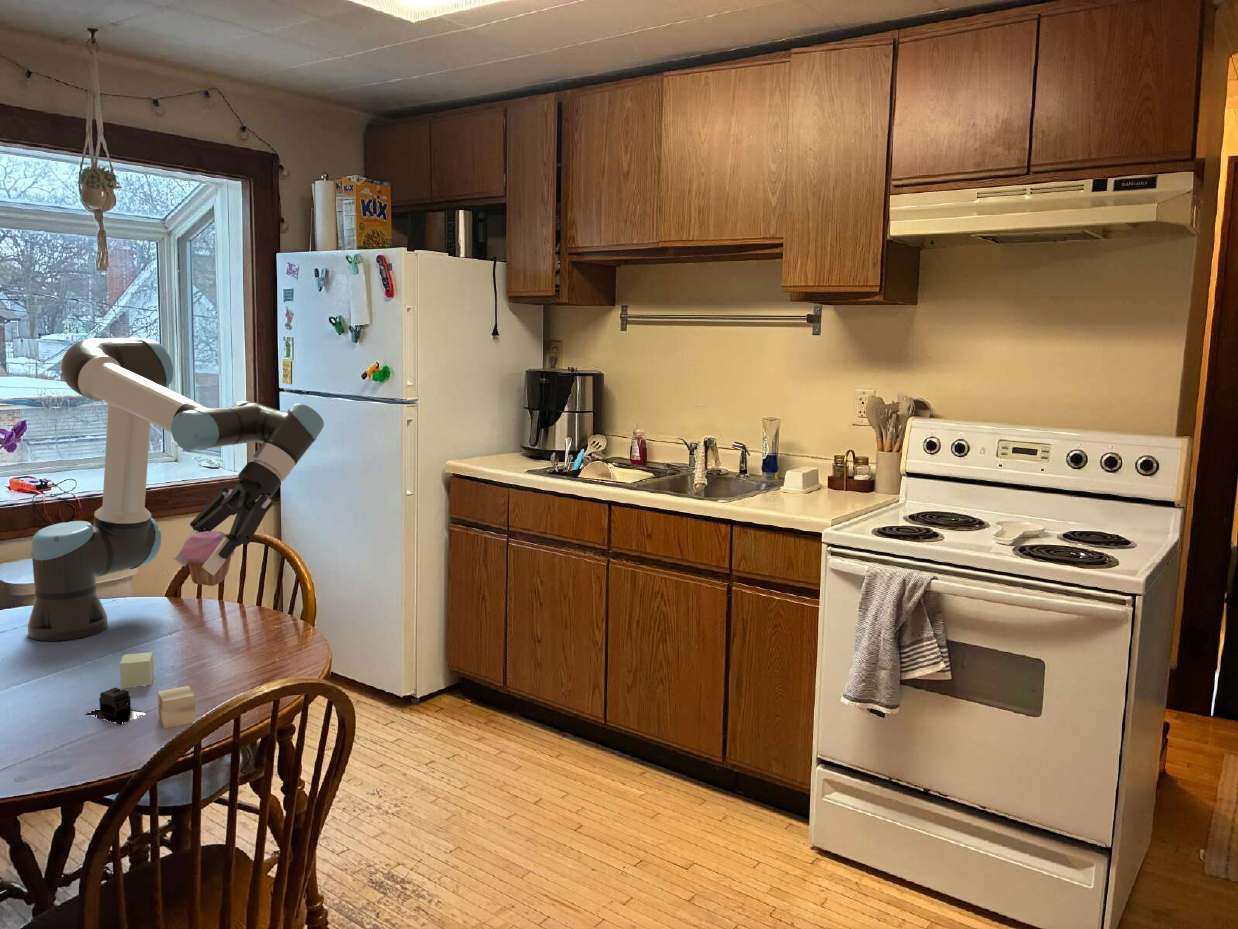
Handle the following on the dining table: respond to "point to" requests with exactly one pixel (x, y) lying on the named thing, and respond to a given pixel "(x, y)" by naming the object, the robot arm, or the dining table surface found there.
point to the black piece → (115, 707)
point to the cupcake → (204, 557)
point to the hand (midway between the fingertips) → (193, 566)
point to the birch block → (176, 706)
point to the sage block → (136, 669)
